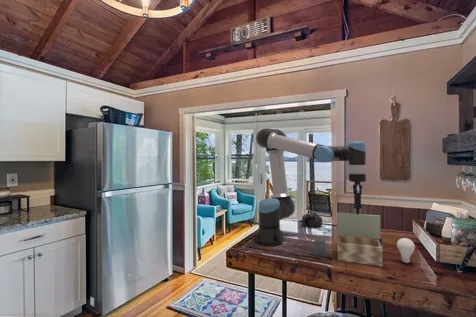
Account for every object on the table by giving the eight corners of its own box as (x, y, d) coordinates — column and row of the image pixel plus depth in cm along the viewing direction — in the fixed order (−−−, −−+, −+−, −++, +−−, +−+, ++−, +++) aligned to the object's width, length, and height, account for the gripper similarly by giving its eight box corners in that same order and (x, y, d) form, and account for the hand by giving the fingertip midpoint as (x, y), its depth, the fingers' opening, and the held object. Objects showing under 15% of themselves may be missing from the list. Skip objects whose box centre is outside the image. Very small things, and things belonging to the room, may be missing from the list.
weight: (314, 255, 122) (314, 241, 122) (315, 251, 126) (315, 237, 126) (325, 257, 120) (325, 242, 120) (325, 253, 125) (325, 239, 124)
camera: (302, 228, 166) (302, 213, 166) (301, 224, 176) (301, 210, 176) (323, 229, 164) (323, 214, 164) (321, 225, 174) (321, 210, 174)
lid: (336, 213, 124) (336, 212, 125) (337, 234, 126) (337, 234, 127) (380, 216, 117) (380, 215, 118) (380, 239, 119) (379, 238, 119)
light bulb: (408, 267, 108) (408, 241, 108) (393, 261, 114) (393, 237, 114) (418, 264, 110) (418, 239, 110) (403, 258, 116) (403, 235, 116)
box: (337, 260, 116) (337, 242, 116) (338, 251, 126) (337, 235, 126) (382, 266, 109) (382, 248, 109) (379, 256, 119) (379, 239, 119)
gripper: (367, 174, 116) (367, 225, 116) (364, 172, 128) (365, 218, 128) (349, 174, 118) (349, 224, 119) (348, 172, 130) (348, 217, 131)
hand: (357, 221), depth 123 cm, fingers closed
